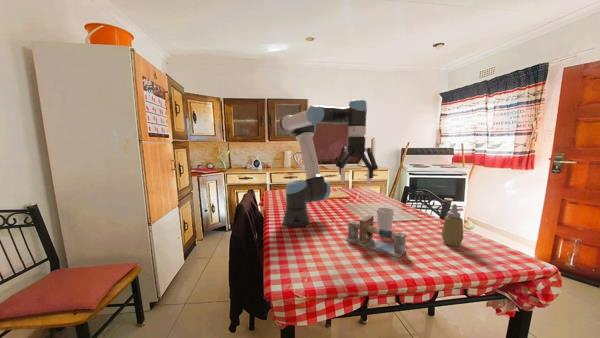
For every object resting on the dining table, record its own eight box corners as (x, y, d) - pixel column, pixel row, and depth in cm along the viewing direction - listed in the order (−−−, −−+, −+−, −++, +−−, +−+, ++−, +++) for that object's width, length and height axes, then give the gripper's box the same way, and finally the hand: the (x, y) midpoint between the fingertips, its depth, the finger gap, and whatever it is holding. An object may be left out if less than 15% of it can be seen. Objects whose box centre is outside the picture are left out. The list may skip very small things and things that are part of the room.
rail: (345, 240, 104) (346, 222, 102) (354, 234, 109) (354, 218, 108) (399, 258, 88) (400, 237, 87) (406, 250, 93) (407, 231, 92)
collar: (359, 241, 99) (359, 219, 97) (367, 235, 105) (368, 215, 104) (364, 243, 97) (365, 221, 96) (372, 237, 103) (373, 216, 102)
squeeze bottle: (459, 241, 102) (462, 202, 100) (465, 249, 94) (469, 208, 92) (438, 238, 105) (441, 201, 103) (443, 246, 97) (446, 206, 95)
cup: (394, 237, 107) (395, 212, 105) (376, 235, 109) (377, 211, 107) (391, 230, 115) (392, 207, 113) (374, 229, 116) (375, 206, 115)
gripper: (329, 136, 105) (328, 181, 108) (380, 135, 89) (378, 188, 92) (337, 136, 110) (336, 179, 113) (387, 136, 94) (384, 186, 97)
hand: (355, 183), depth 102 cm, fingers open, 12 cm apart
